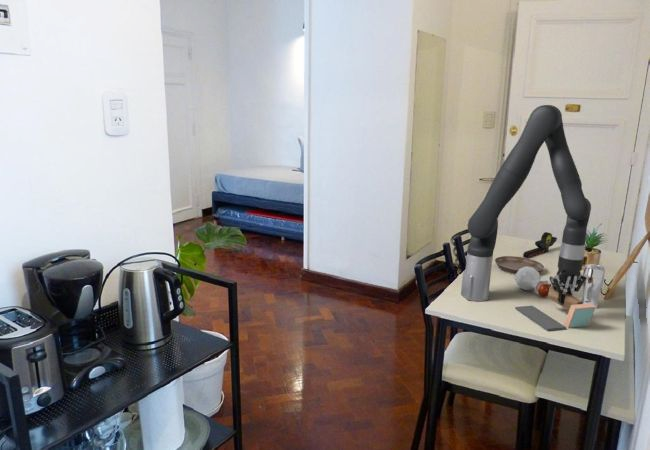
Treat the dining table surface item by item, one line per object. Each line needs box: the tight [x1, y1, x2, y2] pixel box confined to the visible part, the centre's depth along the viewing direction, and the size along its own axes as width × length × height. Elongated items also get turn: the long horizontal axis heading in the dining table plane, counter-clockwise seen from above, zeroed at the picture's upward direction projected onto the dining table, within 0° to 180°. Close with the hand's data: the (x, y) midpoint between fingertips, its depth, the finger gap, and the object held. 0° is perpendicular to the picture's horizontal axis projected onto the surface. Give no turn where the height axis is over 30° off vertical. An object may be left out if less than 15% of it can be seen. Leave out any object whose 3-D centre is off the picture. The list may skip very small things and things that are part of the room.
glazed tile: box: [563, 303, 597, 329], centre depth 166 cm, size 8×2×8 cm, turn 104°
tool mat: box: [514, 305, 567, 332], centre depth 172 cm, size 7×18×1 cm, turn 13°
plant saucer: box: [494, 255, 545, 275], centre depth 223 cm, size 21×21×3 cm
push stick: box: [547, 285, 583, 311], centre depth 173 cm, size 2×14×4 cm, turn 14°
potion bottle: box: [514, 266, 552, 299], centre depth 196 cm, size 9×10×15 cm
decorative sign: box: [522, 231, 558, 259], centre depth 246 cm, size 27×2×10 cm, turn 128°
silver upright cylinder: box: [580, 263, 606, 309], centre depth 183 cm, size 7×7×15 cm
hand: (564, 302), depth 173 cm, fingers closed on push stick, 2 cm apart
